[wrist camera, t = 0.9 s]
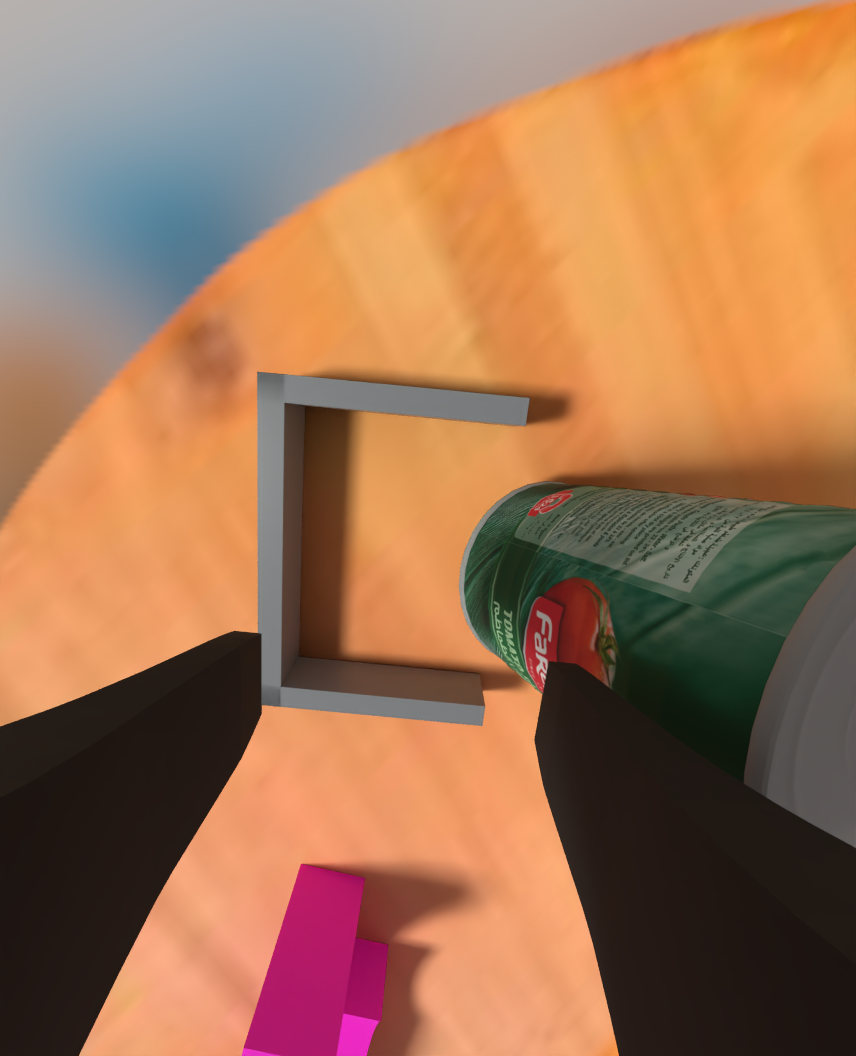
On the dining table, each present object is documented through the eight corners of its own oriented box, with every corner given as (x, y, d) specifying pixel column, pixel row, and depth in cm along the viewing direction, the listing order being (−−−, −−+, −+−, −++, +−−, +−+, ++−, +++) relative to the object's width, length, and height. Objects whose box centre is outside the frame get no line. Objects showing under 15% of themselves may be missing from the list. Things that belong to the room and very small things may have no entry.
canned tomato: (421, 614, 16) (689, 875, 6) (525, 442, 17) (933, 418, 7) (556, 687, 19) (882, 942, 9) (640, 540, 20) (1037, 627, 10)
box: (516, 402, 18) (529, 397, 15) (476, 691, 21) (482, 725, 19) (282, 379, 18) (257, 371, 15) (278, 672, 21) (258, 704, 19)
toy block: (352, 1051, 28) (322, 1273, 20) (259, 1032, 28) (196, 1250, 20) (407, 884, 24) (394, 1079, 17) (302, 860, 24) (243, 1048, 17)
